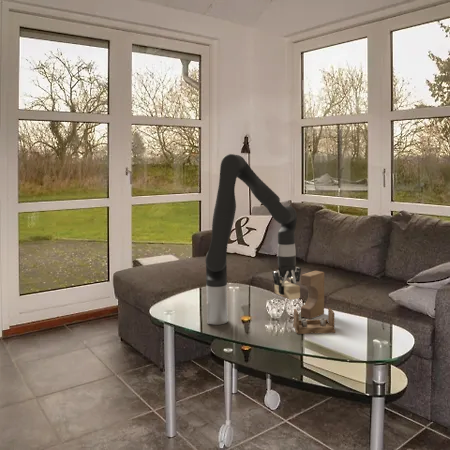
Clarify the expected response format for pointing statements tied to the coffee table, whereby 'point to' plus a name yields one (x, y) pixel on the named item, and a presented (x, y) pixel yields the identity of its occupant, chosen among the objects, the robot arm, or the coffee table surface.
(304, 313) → the decorative block
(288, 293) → the plank
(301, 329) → the peg frame
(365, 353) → the coffee table surface
